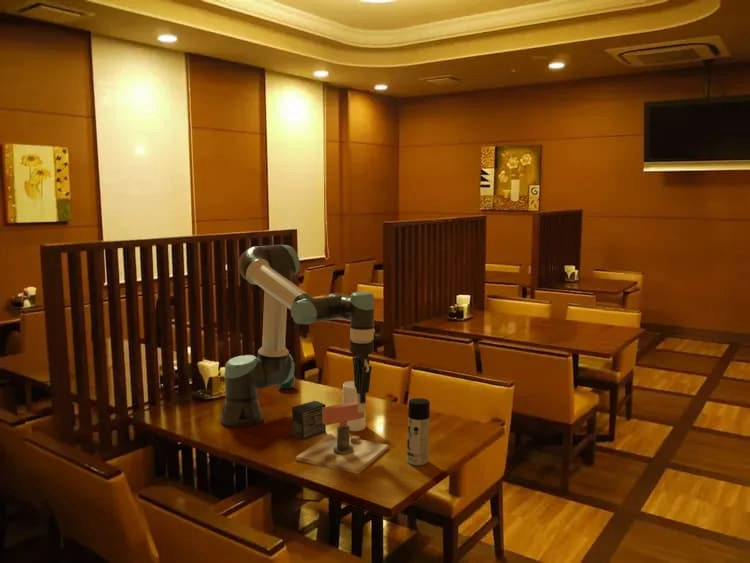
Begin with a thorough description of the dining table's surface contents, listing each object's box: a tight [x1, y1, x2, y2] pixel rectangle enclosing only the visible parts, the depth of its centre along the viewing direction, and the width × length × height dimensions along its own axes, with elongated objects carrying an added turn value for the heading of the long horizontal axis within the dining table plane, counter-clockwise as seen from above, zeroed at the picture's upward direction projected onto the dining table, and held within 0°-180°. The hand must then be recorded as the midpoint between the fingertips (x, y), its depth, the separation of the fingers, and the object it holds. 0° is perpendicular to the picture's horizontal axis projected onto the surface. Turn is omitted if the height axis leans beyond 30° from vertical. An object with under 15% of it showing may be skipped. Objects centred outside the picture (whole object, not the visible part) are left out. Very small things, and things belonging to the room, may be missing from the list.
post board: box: [295, 424, 389, 475], centre depth 206 cm, size 22×22×9 cm
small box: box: [291, 400, 327, 441], centre depth 223 cm, size 11×6×10 cm, turn 135°
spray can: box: [406, 397, 431, 467], centre depth 201 cm, size 7×7×20 cm
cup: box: [342, 380, 366, 432], centre depth 230 cm, size 8×8×16 cm
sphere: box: [278, 374, 296, 390], centre depth 274 cm, size 8×8×8 cm
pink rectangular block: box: [322, 401, 364, 428], centre depth 205 cm, size 14×3×7 cm, turn 121°
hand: (361, 411), depth 207 cm, fingers closed
